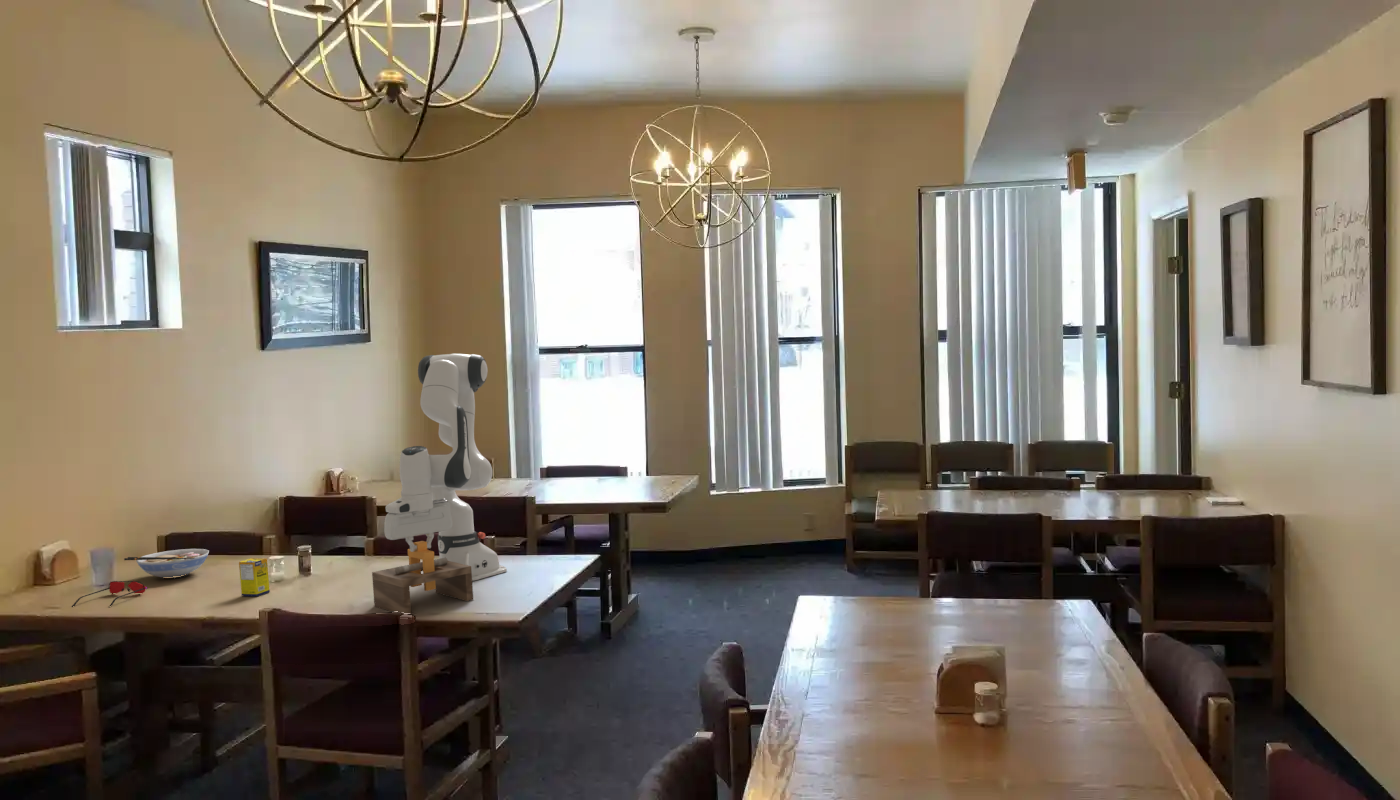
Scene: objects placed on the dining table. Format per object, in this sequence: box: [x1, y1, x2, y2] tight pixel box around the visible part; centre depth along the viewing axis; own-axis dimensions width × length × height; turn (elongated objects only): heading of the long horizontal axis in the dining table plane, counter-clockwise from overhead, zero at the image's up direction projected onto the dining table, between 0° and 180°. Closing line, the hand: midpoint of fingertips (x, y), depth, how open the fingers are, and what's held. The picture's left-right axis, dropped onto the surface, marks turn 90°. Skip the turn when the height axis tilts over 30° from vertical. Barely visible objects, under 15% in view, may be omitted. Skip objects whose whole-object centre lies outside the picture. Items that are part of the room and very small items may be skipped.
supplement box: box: [238, 557, 271, 597], centre depth 342 cm, size 6×6×11 cm
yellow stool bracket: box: [407, 540, 436, 592], centre depth 320 cm, size 3×10×13 cm, turn 43°
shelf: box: [371, 557, 474, 614], centre depth 320 cm, size 22×18×12 cm
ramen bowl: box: [123, 548, 210, 578], centre depth 376 cm, size 25×23×8 cm
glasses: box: [71, 580, 148, 608], centre depth 344 cm, size 14×16×5 cm
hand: (420, 550), depth 319 cm, fingers closed on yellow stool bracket, 3 cm apart
